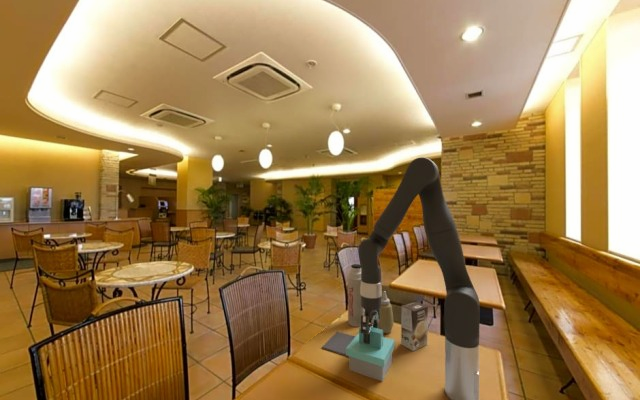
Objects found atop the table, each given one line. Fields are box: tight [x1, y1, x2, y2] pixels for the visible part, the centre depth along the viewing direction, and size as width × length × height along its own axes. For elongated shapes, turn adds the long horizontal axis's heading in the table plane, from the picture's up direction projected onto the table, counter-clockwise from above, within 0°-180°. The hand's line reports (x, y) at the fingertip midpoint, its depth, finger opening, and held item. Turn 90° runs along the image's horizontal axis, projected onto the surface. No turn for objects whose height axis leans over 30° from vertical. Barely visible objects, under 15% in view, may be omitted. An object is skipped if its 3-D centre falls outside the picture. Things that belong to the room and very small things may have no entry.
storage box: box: [348, 352, 393, 382], centre depth 97 cm, size 12×12×7 cm
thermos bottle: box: [347, 263, 365, 328], centre depth 130 cm, size 8×8×28 cm
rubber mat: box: [321, 331, 357, 358], centre depth 111 cm, size 14×14×1 cm
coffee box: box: [400, 301, 429, 352], centre depth 111 cm, size 9×6×16 cm
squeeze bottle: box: [378, 290, 395, 335], centre depth 122 cm, size 8×8×18 cm
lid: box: [346, 326, 396, 367], centre depth 97 cm, size 14×14×8 cm
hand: (370, 337), depth 97 cm, fingers open, 8 cm apart
